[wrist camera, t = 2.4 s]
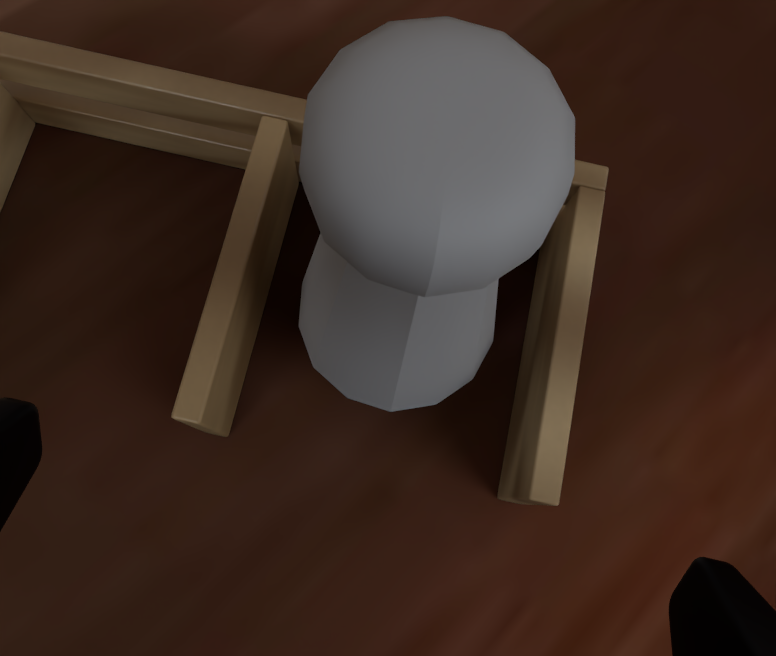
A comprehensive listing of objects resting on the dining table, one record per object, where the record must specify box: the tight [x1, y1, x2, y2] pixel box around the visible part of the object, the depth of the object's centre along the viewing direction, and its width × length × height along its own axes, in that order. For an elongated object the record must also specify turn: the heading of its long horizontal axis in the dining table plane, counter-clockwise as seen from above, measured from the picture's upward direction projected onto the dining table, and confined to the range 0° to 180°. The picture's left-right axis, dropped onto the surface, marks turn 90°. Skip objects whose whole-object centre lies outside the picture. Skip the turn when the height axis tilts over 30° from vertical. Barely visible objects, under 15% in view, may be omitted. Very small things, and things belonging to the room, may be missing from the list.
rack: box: [0, 31, 609, 506], centre depth 20 cm, size 10×20×4 cm, turn 78°
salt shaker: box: [299, 16, 575, 412], centre depth 16 cm, size 6×6×13 cm
